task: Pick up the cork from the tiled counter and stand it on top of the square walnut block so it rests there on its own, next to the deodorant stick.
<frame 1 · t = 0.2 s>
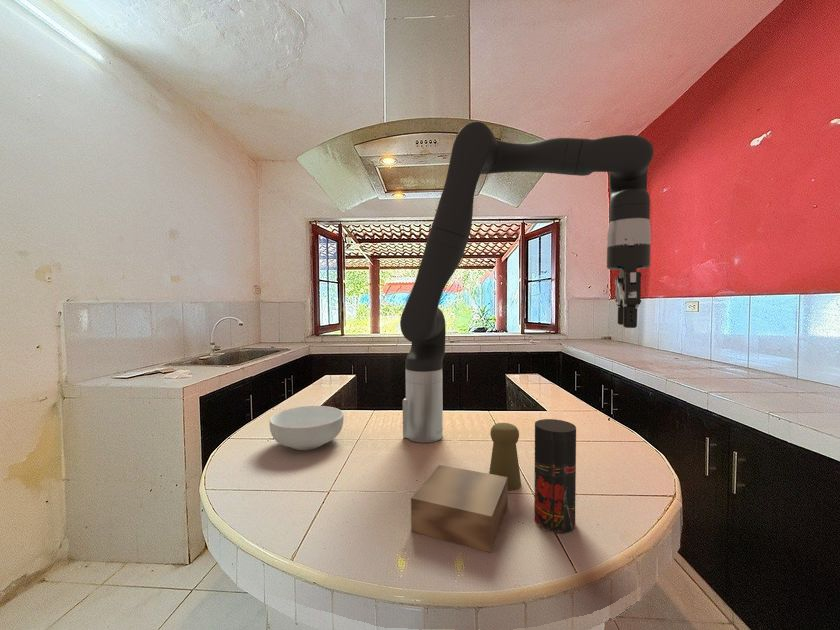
hand: (626, 326, 74), 29 cm above the counter, tool pointing down, fingers open, 8 cm apart
cereal bowl: (308, 444, 89), on the counter
walnut block: (462, 518, 58), on the counter
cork: (504, 483, 69), on the counter
deodorant: (554, 522, 57), on the counter
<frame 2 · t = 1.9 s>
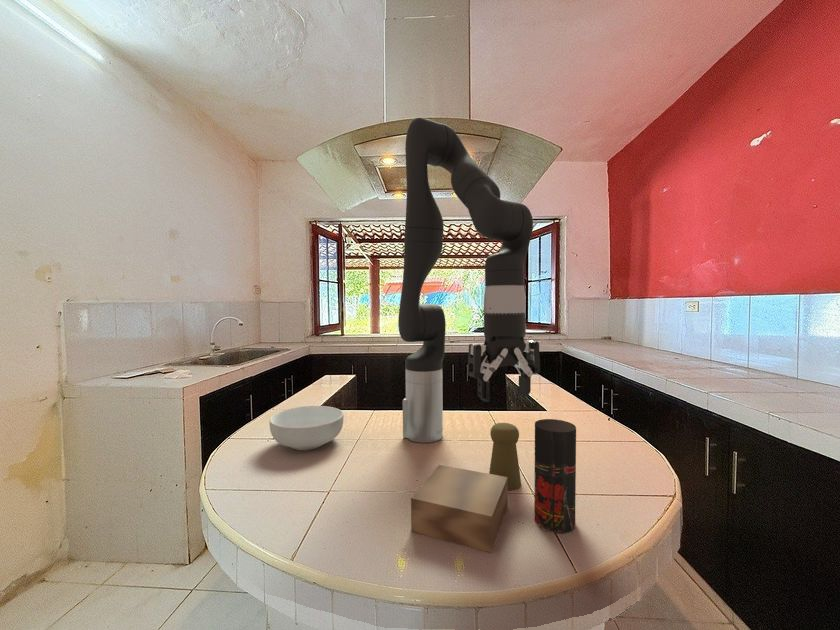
hand: (504, 398, 68), 16 cm above the counter, tool pointing down, fingers open, 8 cm apart
nothing on the counter moved.
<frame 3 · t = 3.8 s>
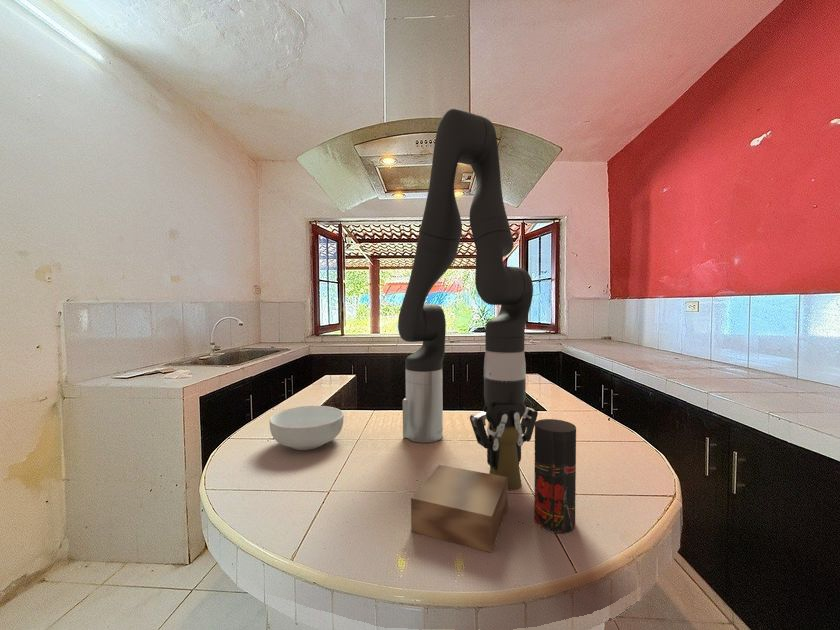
hand: (504, 465, 69), 3 cm above the counter, tool pointing down, fingers closed on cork, 4 cm apart
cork: (504, 483, 69), on the counter, touching gripper
everything else where it was.
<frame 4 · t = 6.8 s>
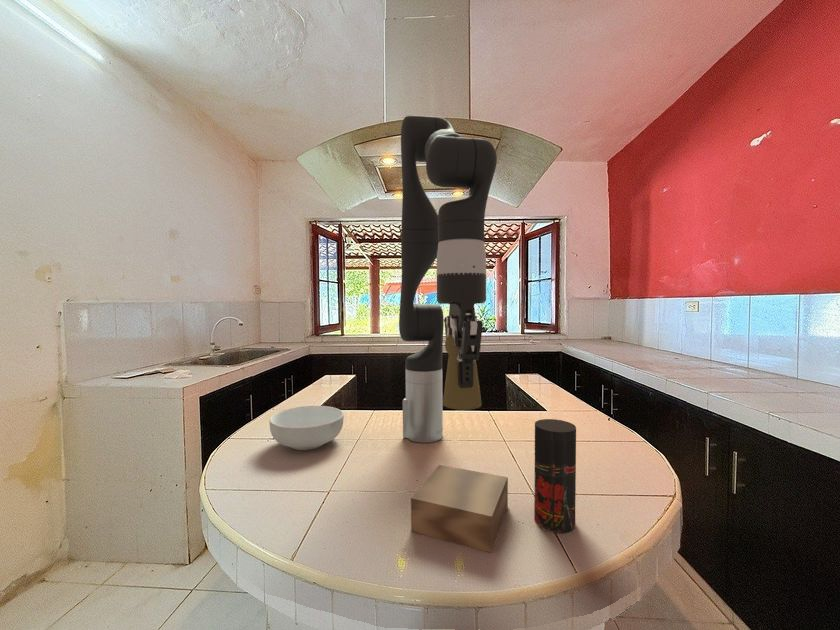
hand: (461, 383, 57), 21 cm above the counter, tool pointing down, fingers closed on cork, 4 cm apart
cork: (462, 405, 57), point 18 cm above the counter, touching gripper
everything else where it was.
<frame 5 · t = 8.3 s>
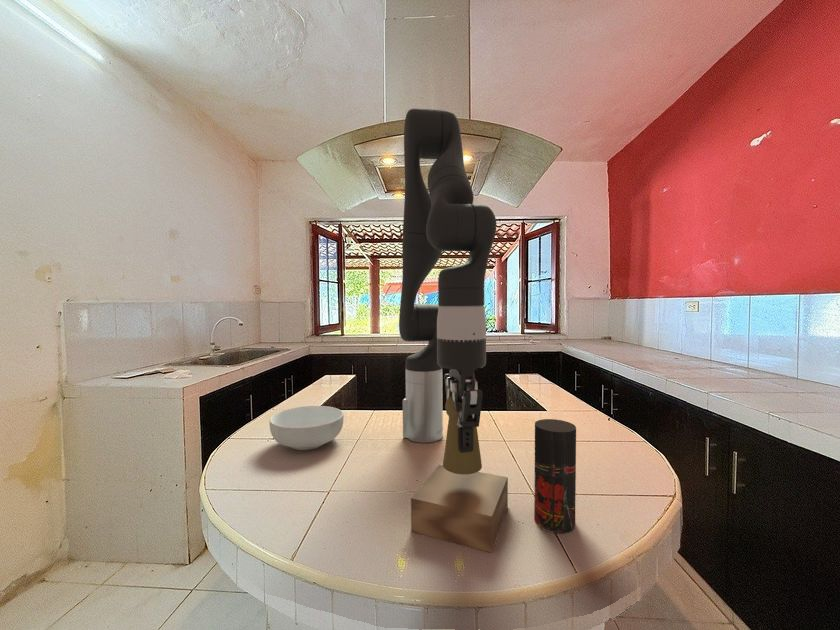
hand: (461, 445, 57), 12 cm above the counter, tool pointing down, fingers closed on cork, 4 cm apart
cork: (462, 466, 58), point 8 cm above the counter, touching gripper
everything else where it was.
when the fingers open (9 cm above the counter, at t = 9.7 s): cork moves 1 cm, resting on walnut block.
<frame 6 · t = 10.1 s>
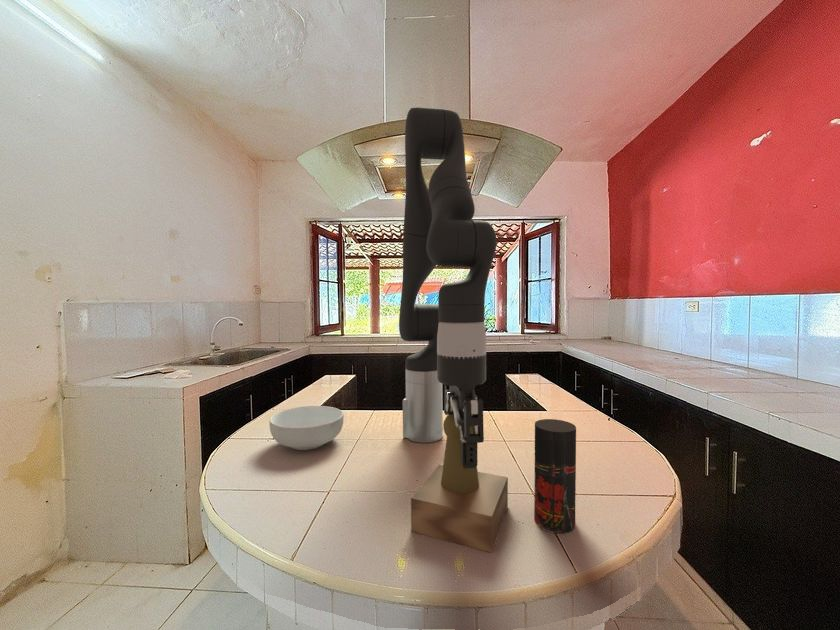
hand: (461, 455, 57), 10 cm above the counter, tool pointing down, fingers open, 8 cm apart
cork: (460, 485, 59), point 5 cm above the counter, touching walnut block
everything else where it was.
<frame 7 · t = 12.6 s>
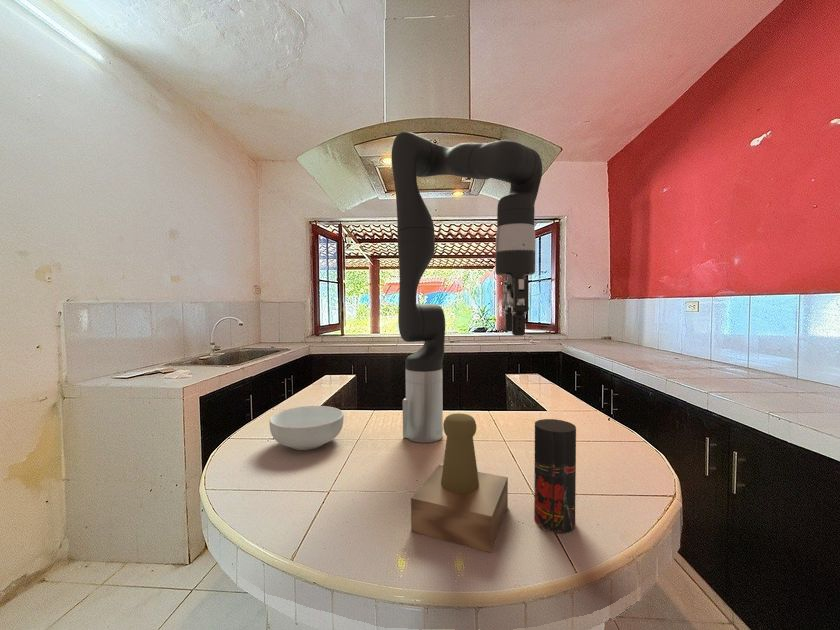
hand: (514, 333, 73), 28 cm above the counter, tool pointing down, fingers open, 8 cm apart
nothing on the counter moved.
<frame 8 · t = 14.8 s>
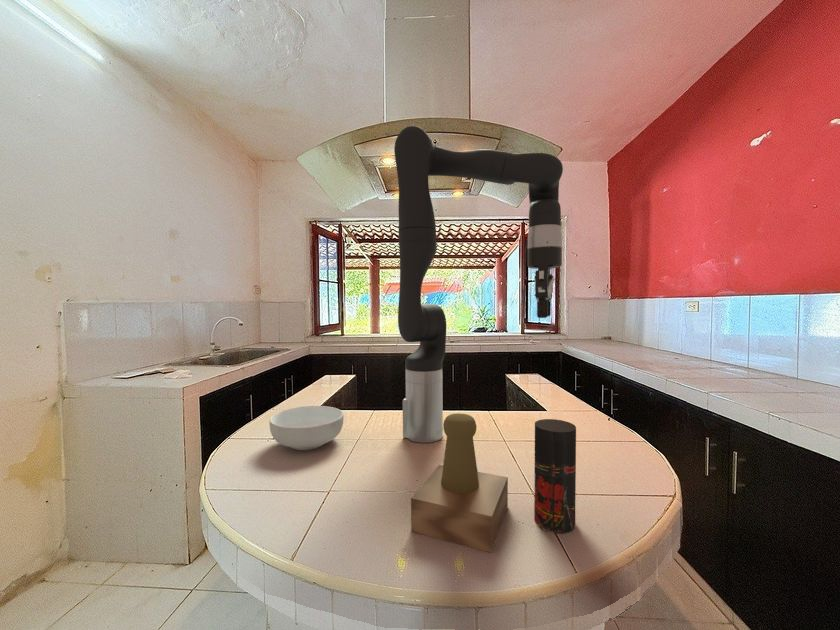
hand: (544, 317, 86), 30 cm above the counter, tool pointing down, fingers open, 8 cm apart
nothing on the counter moved.
at the end: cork inside the target area on the walnut block (1.1 cm from its centre), point 4.8 cm above the walnut block's base; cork tilted 0°; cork touching walnut block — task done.
